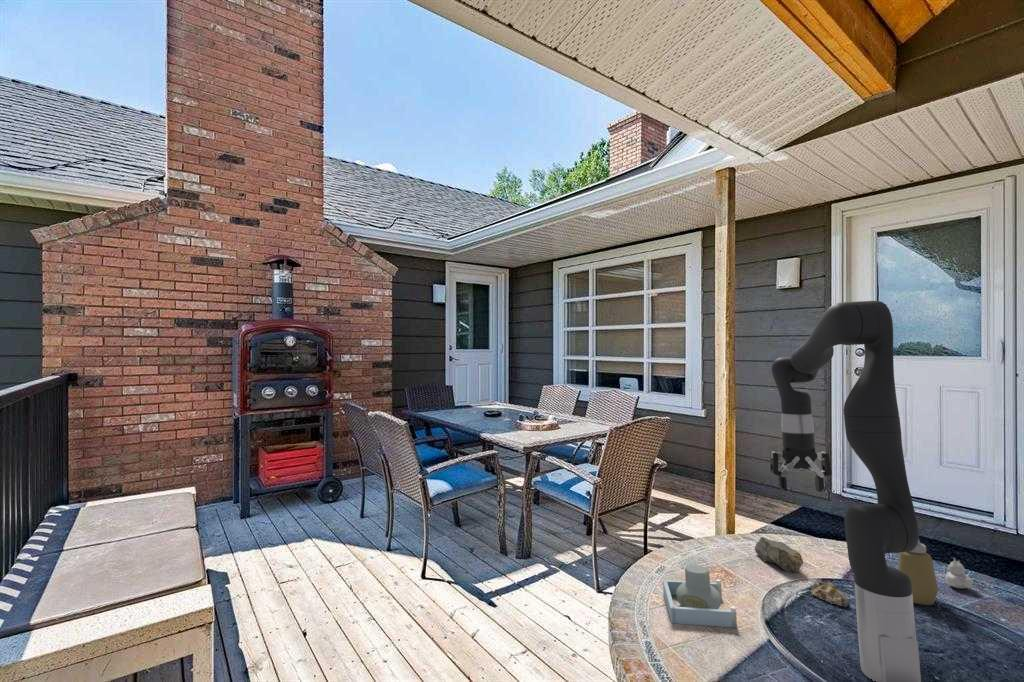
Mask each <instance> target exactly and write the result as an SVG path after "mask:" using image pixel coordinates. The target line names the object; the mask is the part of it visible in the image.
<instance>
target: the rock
mask: <svg viewBox="0 0 1024 682" xmlns="http://www.w3.org/2000/svg"><path fill="white" fill-rule="evenodd" d="M754 551H755V554H757V555H758V557H760V558H761V559H762V561H764V562H766V563H771V564H775V565H778V566H779V568H781V569H782V570H784V571H785V572H796V573H798V572H800V568H801V567H802V566H803V565H804V559H803V558H802V555H801V553H800V551H799V552H798V550H796V549H793V548H791V547H790V546H788V545H787V544H786V543H784V542H781V541H778V540H777V541H776V540H772V539H769V538H766V537H764V536H761V537H760V538H759V540H758V541H757V543H756V545H755V546H754Z"/></svg>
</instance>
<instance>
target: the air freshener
mask: <svg viewBox="0 0 1024 682" xmlns="http://www.w3.org/2000/svg"><path fill="white" fill-rule="evenodd" d="M684 577H685V579H684V580H685V581H686V582H684V583H682V584H681V585H680V586H679V587H678V588H677V591H676V595H675V596H676V599H677V601H678V603H679V604H680V606H681V607H691V608H706V609H720V607H721V605H722V598H721V596H720V594H719V592H718V591H717V590H716V589H715V588H714V587H713V586H711V585H710V582H711V579H710V570H709V569H708V568H707V567H705V566H702V565H699V564H689V565H687V566H685V568H684Z"/></svg>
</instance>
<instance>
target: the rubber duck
mask: <svg viewBox="0 0 1024 682" xmlns="http://www.w3.org/2000/svg"><path fill="white" fill-rule="evenodd" d="M947 568H948V571H947V572H946V573H945V581H946V583H947V584H948V585H949V586H950V587H952V588H956V589H957V590H958V589H960V590H961V589H962V590H963V589H972V588H973V582H974V579H972V578H971V577H970V576H968V575H967V574H965V572H966V570H965V567H964V565H963V564H962V563H961V562H960V561H959V560H956V558H955V557H953V561H951V562H950V563H949V565H948V566H947Z"/></svg>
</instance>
